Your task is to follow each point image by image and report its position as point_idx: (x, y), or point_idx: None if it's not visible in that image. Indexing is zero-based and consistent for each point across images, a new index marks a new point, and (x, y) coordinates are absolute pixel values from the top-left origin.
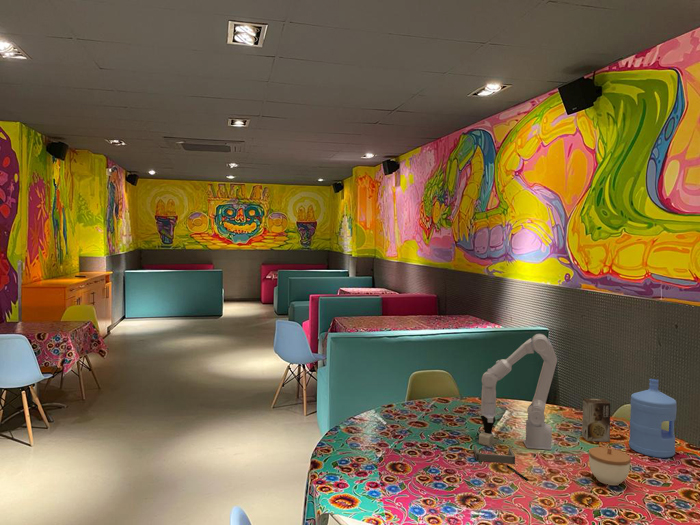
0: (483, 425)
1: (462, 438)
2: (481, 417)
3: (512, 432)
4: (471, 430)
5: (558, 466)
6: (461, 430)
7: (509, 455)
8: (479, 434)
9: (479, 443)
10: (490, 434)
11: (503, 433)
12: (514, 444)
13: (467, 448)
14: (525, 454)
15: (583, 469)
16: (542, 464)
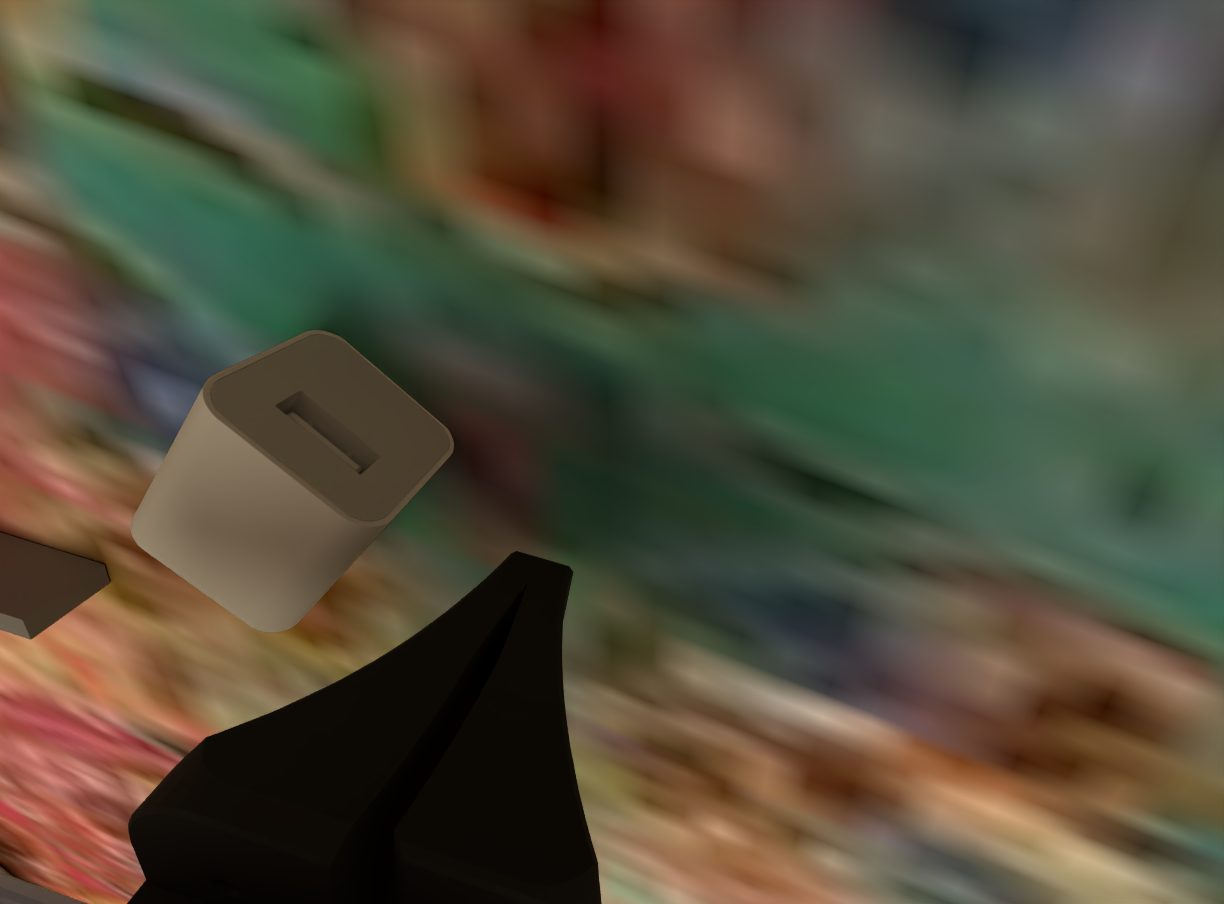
0: (547, 673)
1: (578, 52)
2: (277, 848)
3: (809, 896)
4: (1064, 448)
5: (30, 776)
6: (1159, 201)
7: (38, 551)
8: (203, 399)
9: (317, 336)
10: (248, 596)
11: (788, 810)
12: None
13: (38, 5)
14: (168, 699)
15: (61, 859)
16: (6, 707)
